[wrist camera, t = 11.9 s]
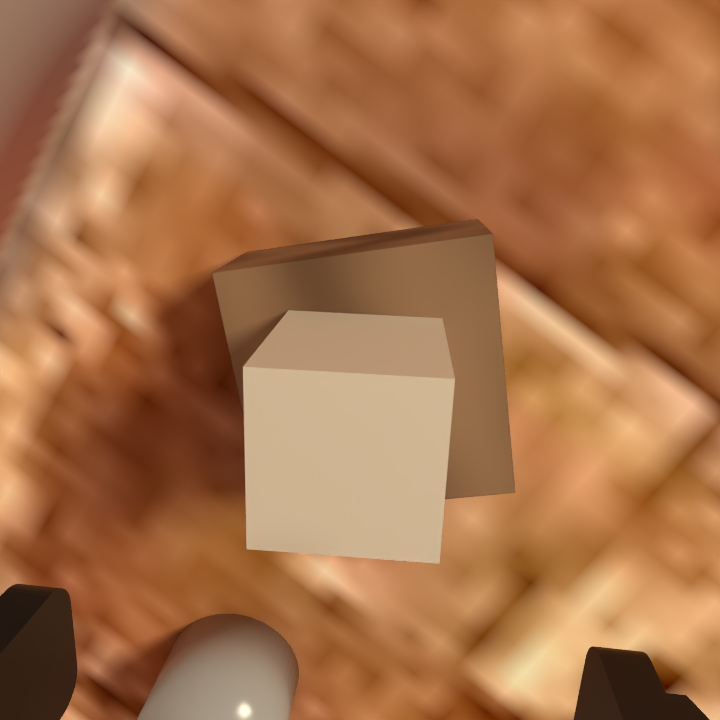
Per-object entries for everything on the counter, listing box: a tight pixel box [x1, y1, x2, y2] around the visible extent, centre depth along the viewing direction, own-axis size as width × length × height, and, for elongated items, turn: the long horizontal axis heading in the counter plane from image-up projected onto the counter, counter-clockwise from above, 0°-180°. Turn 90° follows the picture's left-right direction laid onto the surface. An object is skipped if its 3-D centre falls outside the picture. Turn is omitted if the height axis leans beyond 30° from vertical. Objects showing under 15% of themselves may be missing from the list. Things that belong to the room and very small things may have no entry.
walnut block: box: [212, 219, 515, 499], centre depth 24 cm, size 9×9×5 cm
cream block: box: [243, 310, 455, 563], centre depth 19 cm, size 5×5×6 cm
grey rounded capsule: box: [137, 614, 299, 720], centre depth 29 cm, size 6×6×5 cm
